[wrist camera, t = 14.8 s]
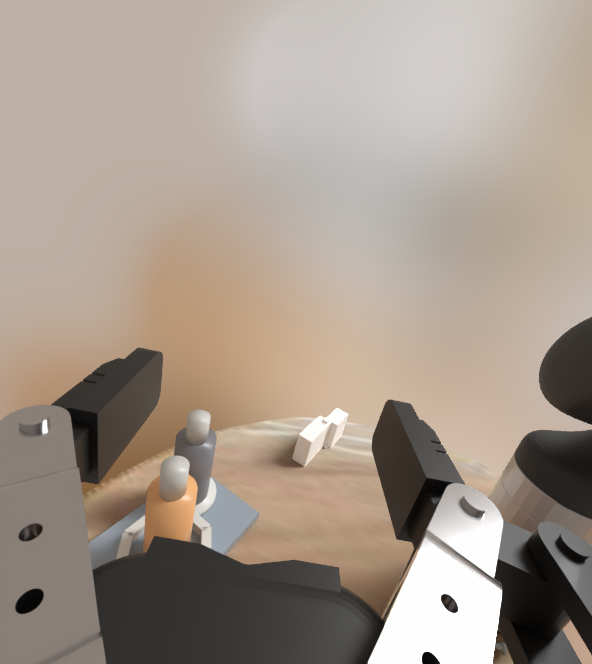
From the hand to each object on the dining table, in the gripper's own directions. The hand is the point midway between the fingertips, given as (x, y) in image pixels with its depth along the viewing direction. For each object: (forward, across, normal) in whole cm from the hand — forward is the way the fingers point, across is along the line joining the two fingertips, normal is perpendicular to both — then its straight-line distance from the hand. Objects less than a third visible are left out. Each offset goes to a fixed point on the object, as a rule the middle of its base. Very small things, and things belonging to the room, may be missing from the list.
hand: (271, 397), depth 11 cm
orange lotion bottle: (+12, +7, +29) cm, 32 cm away
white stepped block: (+34, -11, +31) cm, 47 cm away
